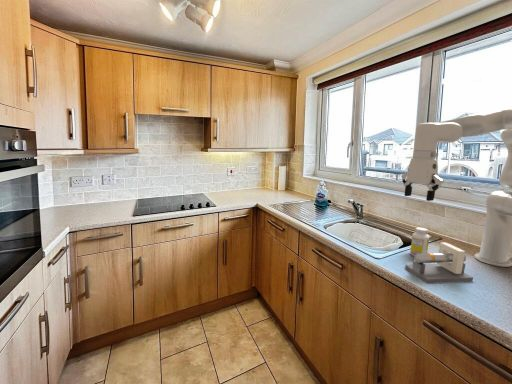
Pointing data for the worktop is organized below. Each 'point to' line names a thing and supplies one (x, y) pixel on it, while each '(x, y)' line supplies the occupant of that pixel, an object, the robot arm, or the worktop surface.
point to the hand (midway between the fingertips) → (418, 198)
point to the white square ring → (457, 257)
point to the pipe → (432, 260)
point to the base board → (439, 274)
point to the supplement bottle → (419, 241)
